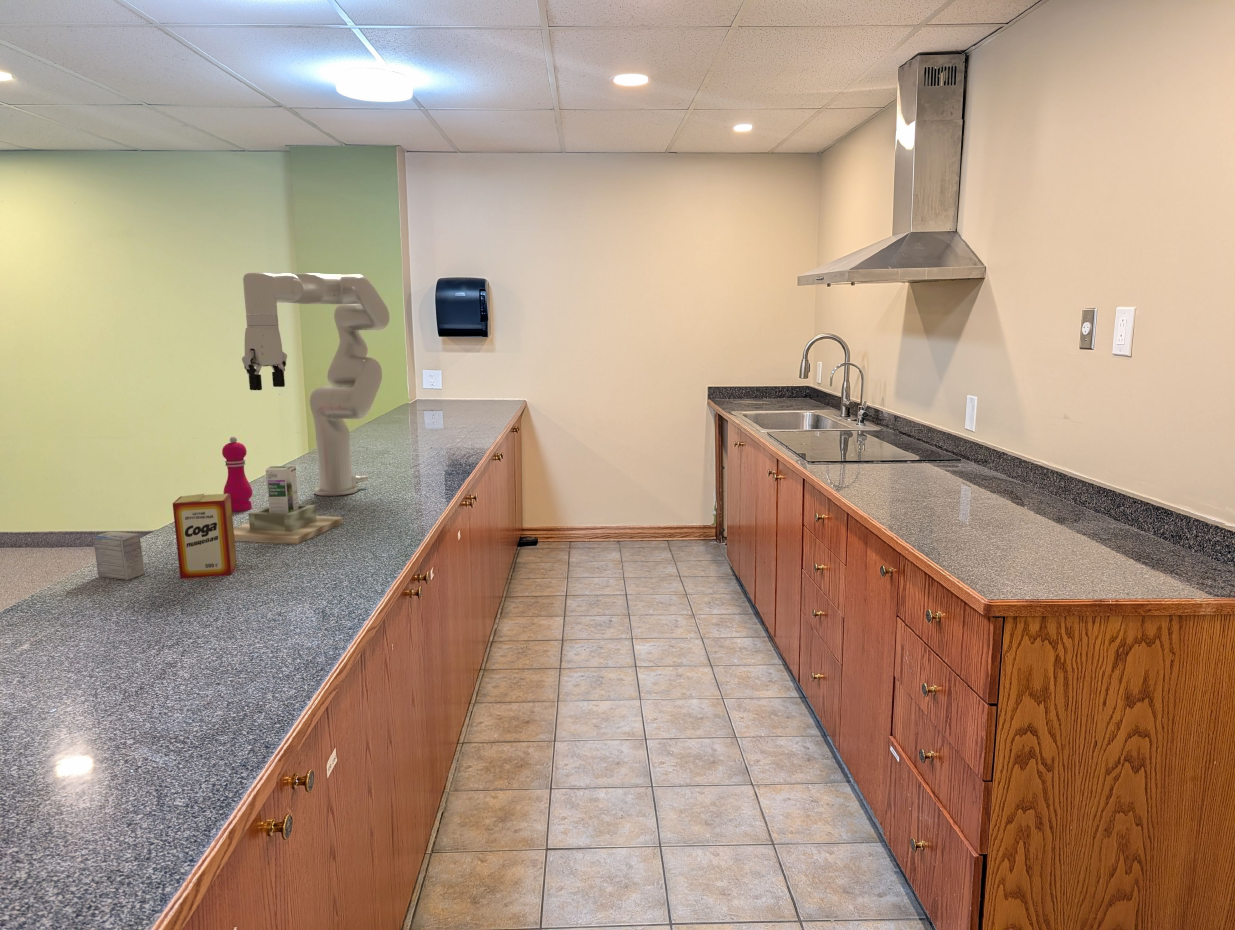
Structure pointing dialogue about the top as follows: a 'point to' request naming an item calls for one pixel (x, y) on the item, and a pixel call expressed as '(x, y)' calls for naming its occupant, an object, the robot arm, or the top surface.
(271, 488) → the syrup box
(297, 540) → the socket board
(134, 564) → the medicine box
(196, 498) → the baking soda box
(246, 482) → the pepper mill
